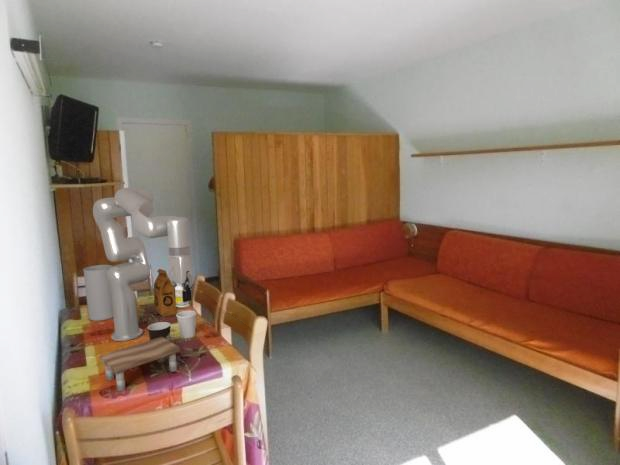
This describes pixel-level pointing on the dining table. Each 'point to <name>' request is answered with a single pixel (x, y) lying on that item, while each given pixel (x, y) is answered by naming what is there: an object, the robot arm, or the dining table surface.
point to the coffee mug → (159, 330)
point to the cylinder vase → (98, 293)
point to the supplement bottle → (180, 296)
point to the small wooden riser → (138, 358)
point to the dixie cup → (187, 323)
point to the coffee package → (164, 295)
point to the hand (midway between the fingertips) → (183, 298)
